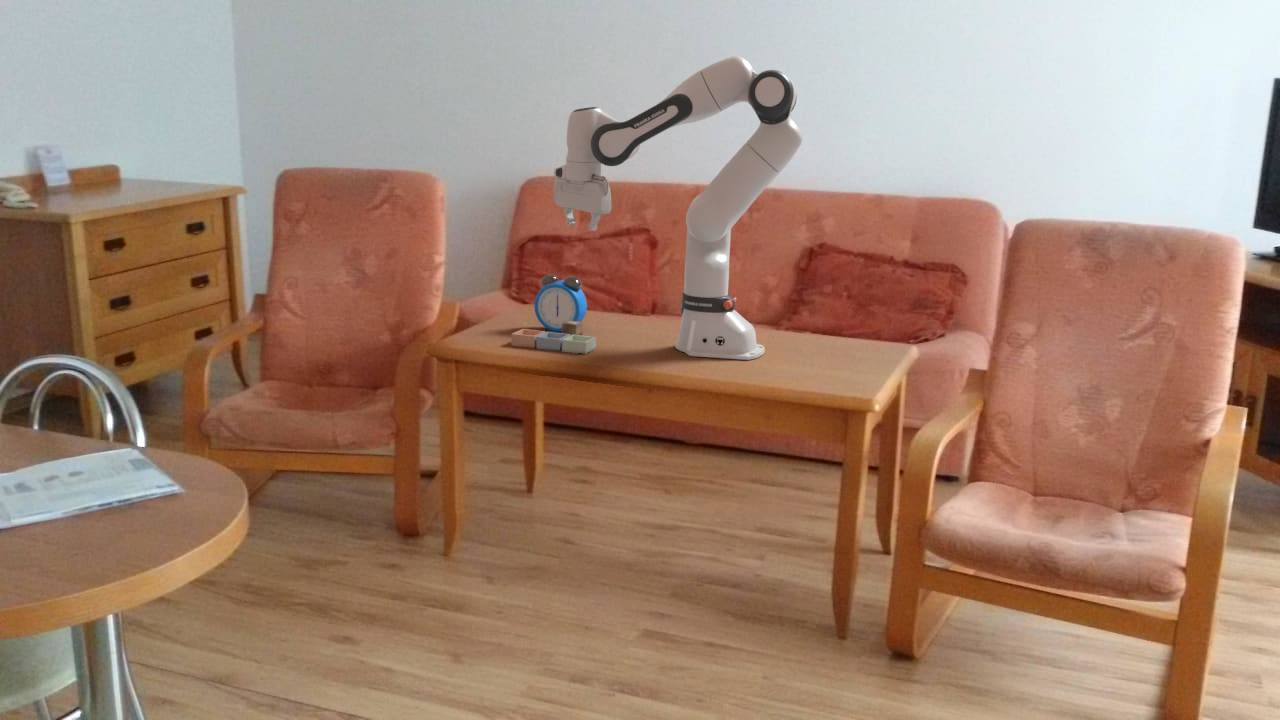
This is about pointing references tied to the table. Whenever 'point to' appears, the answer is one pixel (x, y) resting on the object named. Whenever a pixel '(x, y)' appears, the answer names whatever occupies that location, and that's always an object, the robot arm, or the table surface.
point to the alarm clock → (560, 302)
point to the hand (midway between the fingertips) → (581, 227)
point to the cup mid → (551, 341)
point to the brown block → (572, 327)
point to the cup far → (526, 338)
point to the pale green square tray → (578, 344)
